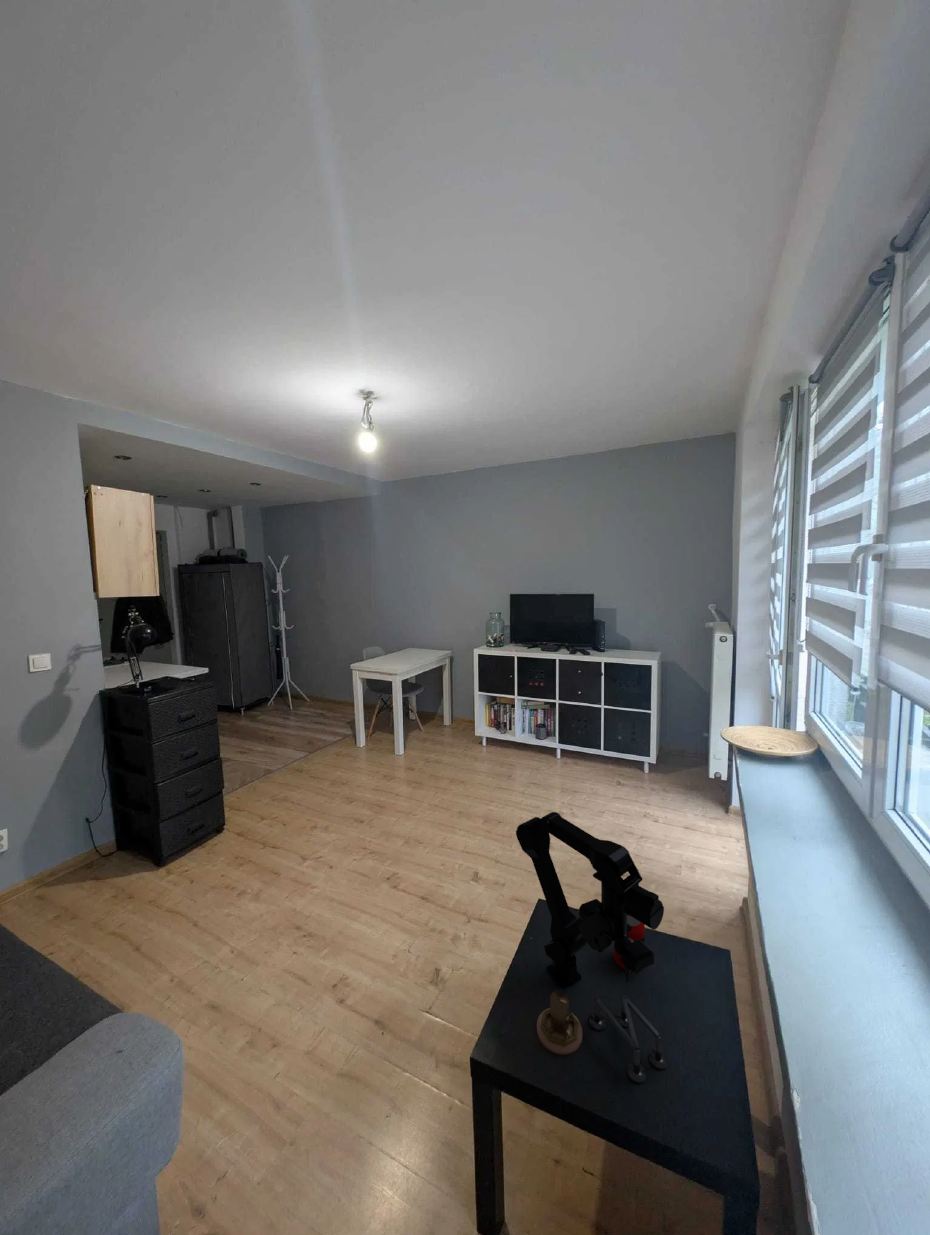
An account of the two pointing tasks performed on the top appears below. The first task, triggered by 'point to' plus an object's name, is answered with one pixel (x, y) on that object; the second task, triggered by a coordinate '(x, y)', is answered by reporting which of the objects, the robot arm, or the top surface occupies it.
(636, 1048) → the zigzag metal pull handle
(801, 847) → the top surface
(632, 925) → the soda can
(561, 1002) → the octagonal handwheel knob
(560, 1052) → the coaster
